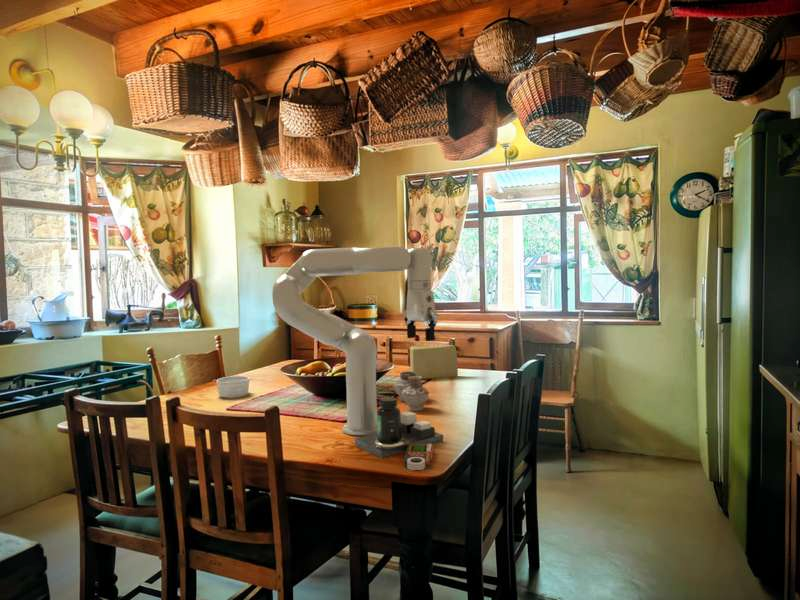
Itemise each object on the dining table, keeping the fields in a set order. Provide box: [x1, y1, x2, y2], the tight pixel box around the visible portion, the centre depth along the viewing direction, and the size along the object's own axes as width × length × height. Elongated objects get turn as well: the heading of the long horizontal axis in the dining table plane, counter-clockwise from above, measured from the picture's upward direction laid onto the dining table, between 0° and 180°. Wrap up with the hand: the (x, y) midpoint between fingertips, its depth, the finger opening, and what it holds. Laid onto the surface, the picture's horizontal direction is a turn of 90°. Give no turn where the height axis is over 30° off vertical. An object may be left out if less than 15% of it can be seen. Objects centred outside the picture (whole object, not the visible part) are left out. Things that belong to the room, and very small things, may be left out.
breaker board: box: [354, 420, 444, 459], centre depth 155 cm, size 14×22×4 cm, turn 126°
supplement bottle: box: [377, 396, 402, 444], centre depth 150 cm, size 7×7×12 cm
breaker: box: [401, 411, 417, 425], centre depth 161 cm, size 4×4×4 cm
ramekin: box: [216, 375, 250, 399], centre depth 221 cm, size 13×13×7 cm
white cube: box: [414, 419, 432, 430], centre depth 156 cm, size 4×4×4 cm
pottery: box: [393, 370, 429, 412], centre depth 200 cm, size 11×25×12 cm, turn 10°
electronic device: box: [403, 442, 433, 471], centre depth 141 cm, size 7×3×15 cm
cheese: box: [409, 344, 459, 380], centre depth 249 cm, size 22×10×15 cm, turn 96°
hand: (420, 339), depth 171 cm, fingers open, 9 cm apart
